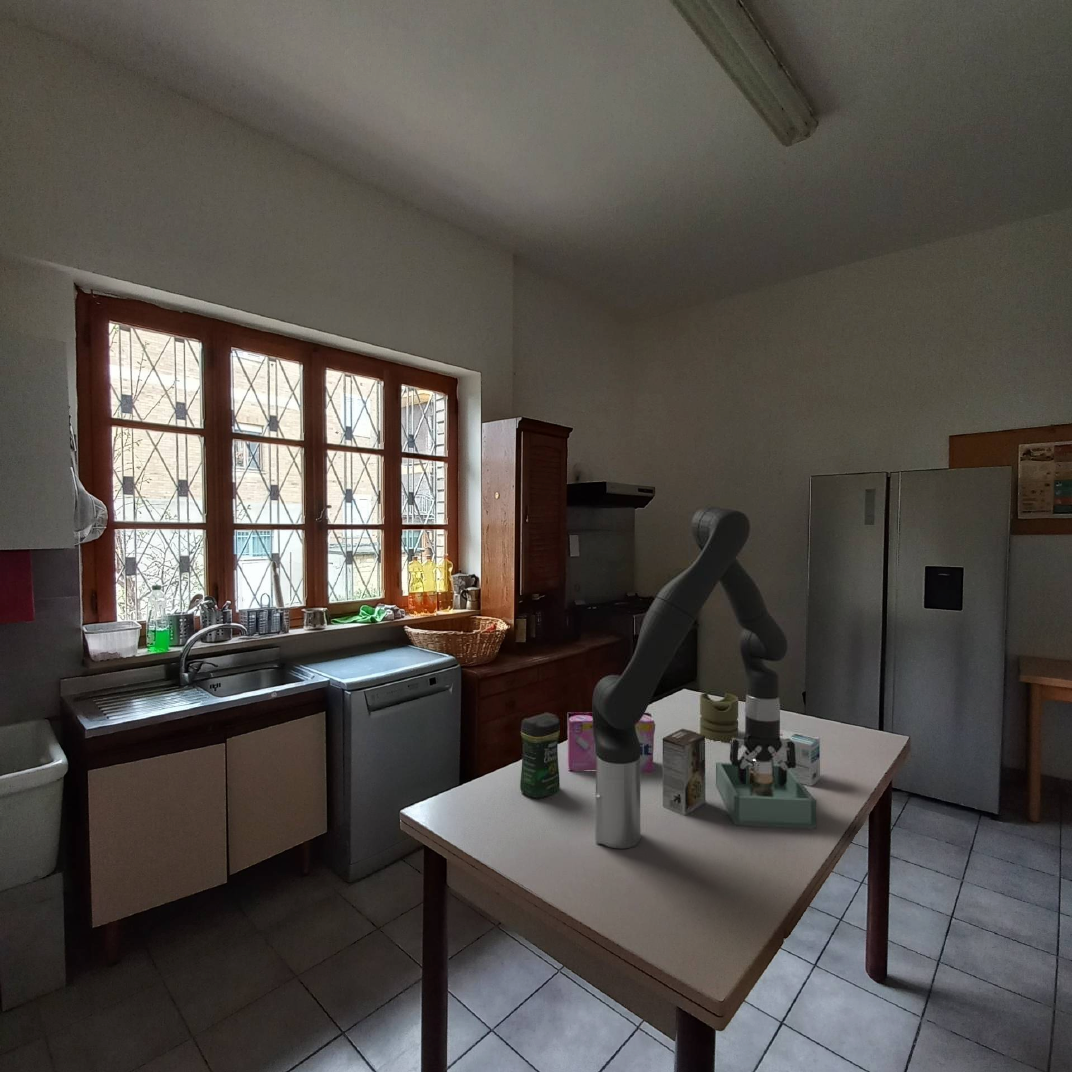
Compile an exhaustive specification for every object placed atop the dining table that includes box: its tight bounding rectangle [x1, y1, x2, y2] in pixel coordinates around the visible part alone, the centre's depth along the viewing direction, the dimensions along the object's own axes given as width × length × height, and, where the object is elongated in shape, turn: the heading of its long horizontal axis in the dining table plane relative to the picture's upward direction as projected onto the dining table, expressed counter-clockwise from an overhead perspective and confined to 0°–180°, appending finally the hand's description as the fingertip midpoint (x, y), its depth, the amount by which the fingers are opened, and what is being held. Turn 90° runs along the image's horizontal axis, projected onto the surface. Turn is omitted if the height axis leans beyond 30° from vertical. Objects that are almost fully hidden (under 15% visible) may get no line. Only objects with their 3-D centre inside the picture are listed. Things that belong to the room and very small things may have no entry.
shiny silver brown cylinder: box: [749, 758, 774, 797], centre depth 135 cm, size 5×5×10 cm
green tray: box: [715, 761, 817, 829], centre depth 135 cm, size 17×19×6 cm
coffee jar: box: [519, 712, 561, 799], centre depth 143 cm, size 10×8×19 cm
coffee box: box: [662, 728, 707, 816], centre depth 136 cm, size 9×6×16 cm
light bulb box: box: [772, 728, 821, 787], centre depth 151 cm, size 11×7×11 cm, turn 47°
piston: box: [699, 692, 739, 743], centre depth 181 cm, size 11×12×11 cm
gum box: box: [567, 711, 657, 773], centre depth 158 cm, size 24×8×14 cm, turn 89°
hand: (762, 783), depth 135 cm, fingers open, 8 cm apart
